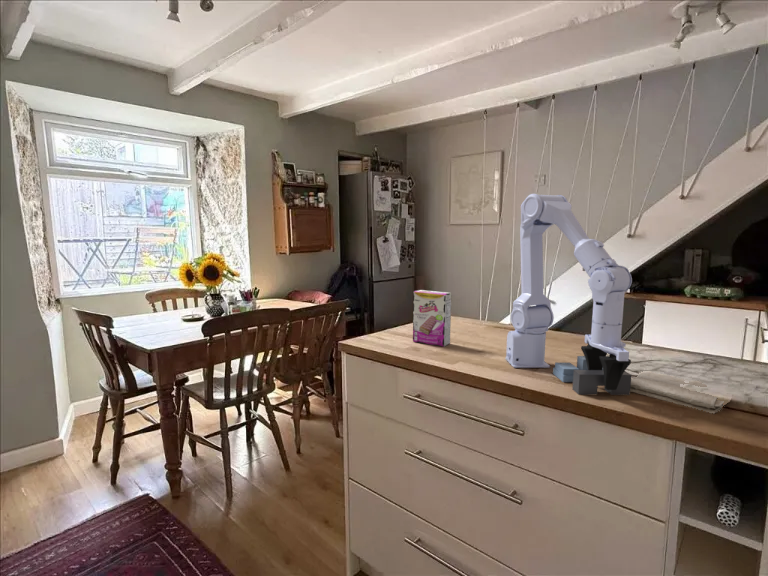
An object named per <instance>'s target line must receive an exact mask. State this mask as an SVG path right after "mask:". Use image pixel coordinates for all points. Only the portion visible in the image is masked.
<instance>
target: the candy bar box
mask: <svg viewBox="0 0 768 576" xmlns="http://www.w3.org/2000/svg"><path fill="white" fill-rule="evenodd" d="M412 301H413V302H412V303H413V310H412V311H413V312H412V314H413V315H412V316H413V317H412V342H413V343H414V342H415V343H421V344H424V345H425V344H426V345H433V346H438V347H446V346H448V345H450V344H451V325H452V324H451V323H452V322H451V320H452V317H451V316H452V293H451V292H447V291H435V290H425V289H418V290H414V291H413V300H412Z"/></svg>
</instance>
